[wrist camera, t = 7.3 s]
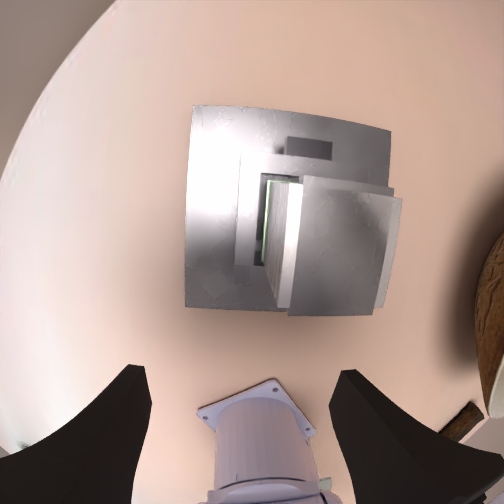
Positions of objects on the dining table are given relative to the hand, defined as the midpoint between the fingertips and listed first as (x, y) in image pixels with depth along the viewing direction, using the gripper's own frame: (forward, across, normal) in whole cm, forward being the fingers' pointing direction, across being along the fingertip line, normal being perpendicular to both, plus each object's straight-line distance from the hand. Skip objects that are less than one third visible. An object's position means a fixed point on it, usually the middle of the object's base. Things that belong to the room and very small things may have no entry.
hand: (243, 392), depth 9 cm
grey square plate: (+11, -3, -5) cm, 12 cm away
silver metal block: (+7, -3, -5) cm, 9 cm away
